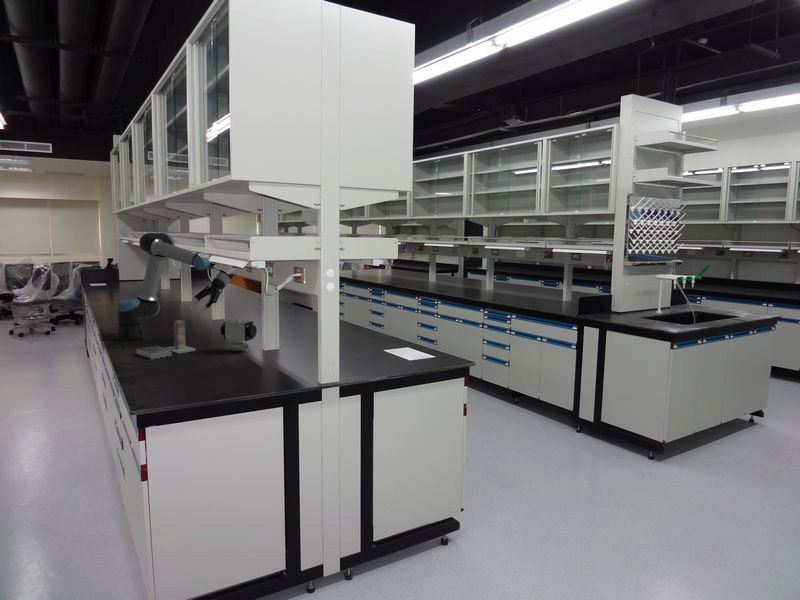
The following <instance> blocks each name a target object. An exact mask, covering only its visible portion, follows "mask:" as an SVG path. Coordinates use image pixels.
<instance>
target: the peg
mask: <svg viewBox="0 0 800 600" xmlns="http://www.w3.org/2000/svg"><path fill="white" fill-rule="evenodd" d="M185 322H186V321H185V320H183V319H179V320H178V319H177V320H173V335H174V346H175V349H184V348H186V346H187V345H186V344H187V343H186V323H185Z"/></svg>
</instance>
